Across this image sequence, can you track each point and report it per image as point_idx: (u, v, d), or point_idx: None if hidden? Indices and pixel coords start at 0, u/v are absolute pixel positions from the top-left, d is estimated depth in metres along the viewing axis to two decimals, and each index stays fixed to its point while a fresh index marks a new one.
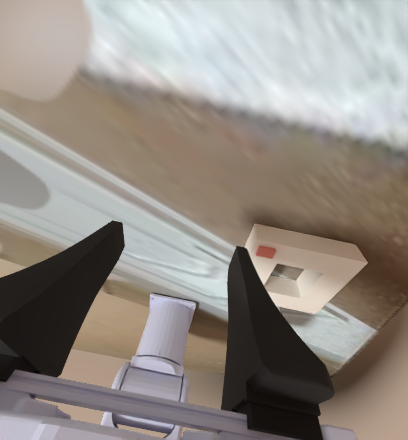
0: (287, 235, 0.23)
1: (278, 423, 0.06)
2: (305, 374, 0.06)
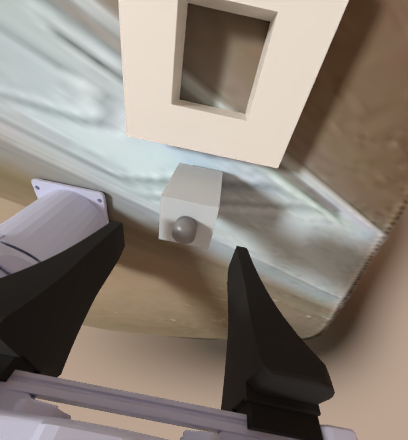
0: None
1: (278, 423, 0.06)
2: (305, 374, 0.06)
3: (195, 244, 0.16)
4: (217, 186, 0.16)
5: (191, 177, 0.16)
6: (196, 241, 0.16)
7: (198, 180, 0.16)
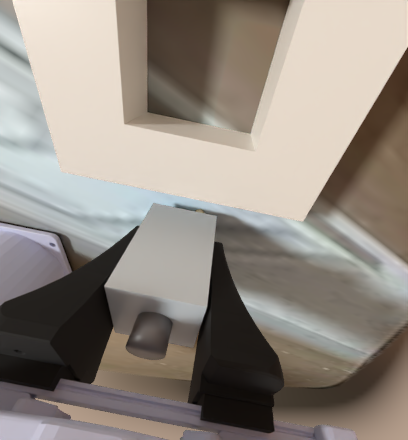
0: None
1: (230, 414, 0.06)
2: (252, 364, 0.06)
3: (172, 342, 0.10)
4: (207, 249, 0.10)
5: (167, 232, 0.11)
6: (173, 339, 0.10)
7: (176, 240, 0.10)
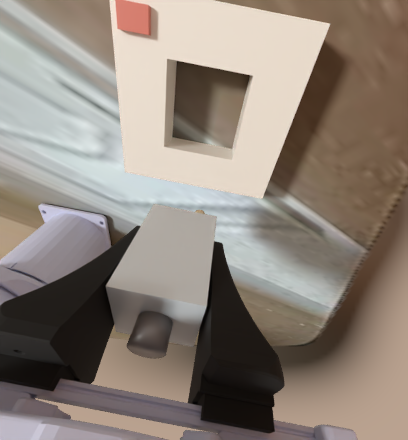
0: None
1: (230, 414, 0.06)
2: (253, 364, 0.06)
3: (173, 341, 0.10)
4: (207, 249, 0.10)
5: (167, 232, 0.11)
6: (173, 338, 0.10)
7: (177, 240, 0.10)
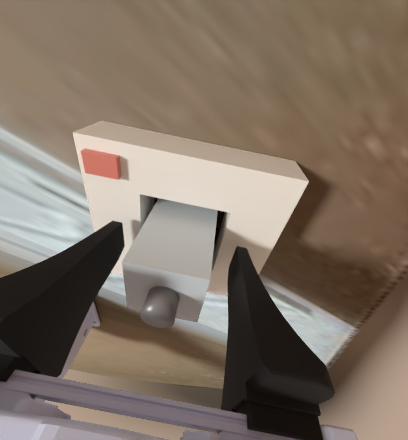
0: (156, 137, 0.11)
1: (278, 423, 0.06)
2: (305, 375, 0.06)
3: (178, 316, 0.11)
4: (210, 234, 0.11)
5: (174, 219, 0.12)
6: (179, 313, 0.11)
7: (182, 226, 0.12)
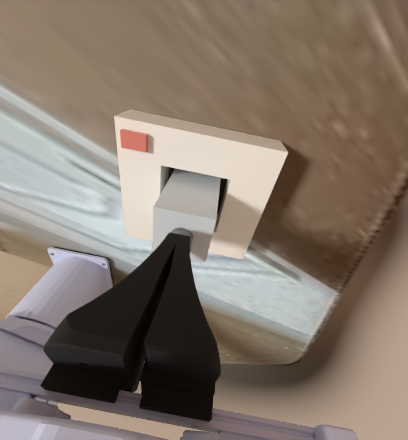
0: (174, 121, 0.15)
1: (168, 402, 0.06)
2: (185, 351, 0.06)
3: (191, 256, 0.15)
4: (215, 194, 0.15)
5: (187, 185, 0.15)
6: (192, 253, 0.15)
7: (194, 189, 0.15)
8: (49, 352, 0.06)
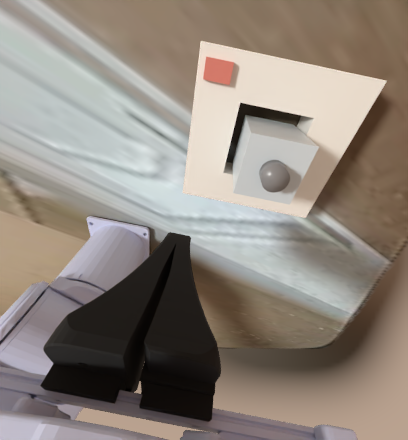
0: None
1: (168, 402, 0.06)
2: (185, 351, 0.06)
3: (275, 198, 0.14)
4: (299, 132, 0.14)
5: (267, 124, 0.14)
6: (278, 194, 0.14)
7: (276, 127, 0.14)
8: (49, 352, 0.06)
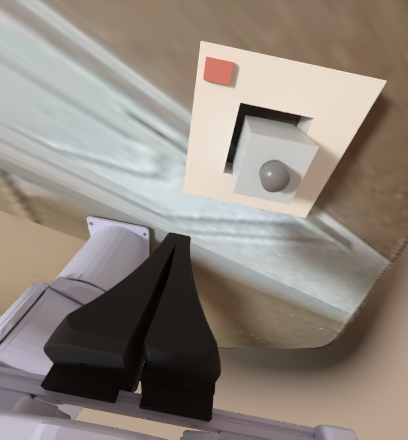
0: None
1: (168, 402, 0.06)
2: (185, 351, 0.06)
3: (275, 198, 0.14)
4: (299, 132, 0.14)
5: (267, 124, 0.14)
6: (278, 194, 0.14)
7: (276, 127, 0.14)
8: (49, 352, 0.06)
